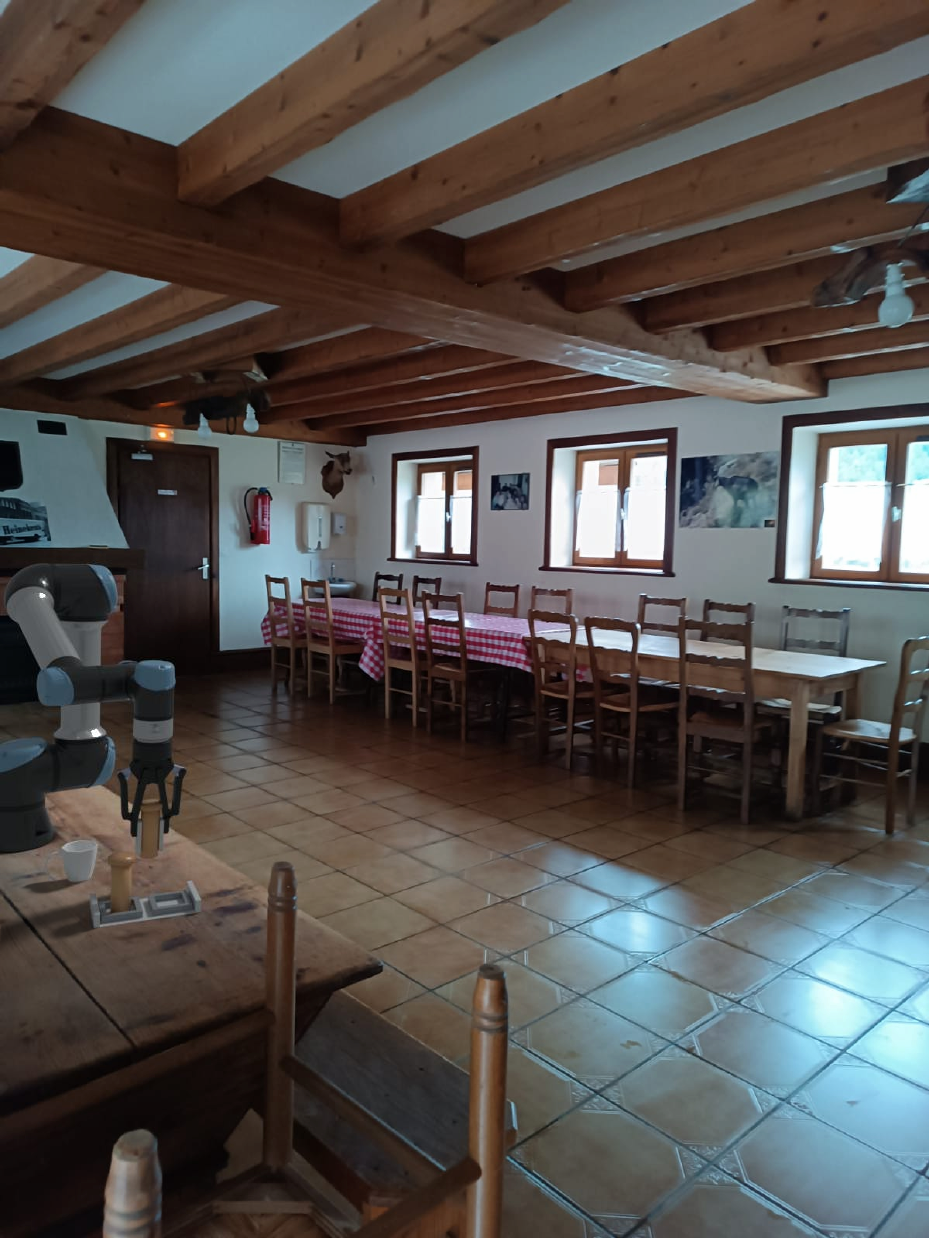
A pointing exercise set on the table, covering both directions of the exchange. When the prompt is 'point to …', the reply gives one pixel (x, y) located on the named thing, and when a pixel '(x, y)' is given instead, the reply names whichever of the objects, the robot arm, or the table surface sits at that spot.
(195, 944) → the table surface
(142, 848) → the tan ball-headed post
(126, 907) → the rounded wooden peg
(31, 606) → the robot arm
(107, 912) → the tray
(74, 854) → the cup
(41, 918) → the table surface
